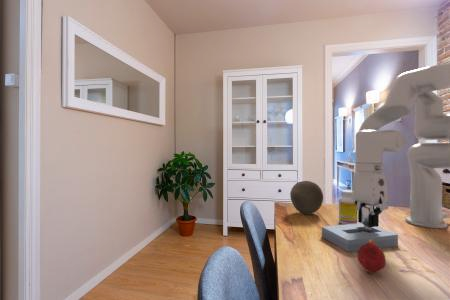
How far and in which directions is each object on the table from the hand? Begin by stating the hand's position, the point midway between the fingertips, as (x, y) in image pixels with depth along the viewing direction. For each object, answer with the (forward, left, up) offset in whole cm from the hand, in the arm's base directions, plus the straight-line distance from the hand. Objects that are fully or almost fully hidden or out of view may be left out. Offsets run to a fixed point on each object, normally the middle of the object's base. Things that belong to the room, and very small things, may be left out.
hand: (368, 223), depth 77 cm
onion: (+16, +17, -6) cm, 24 cm away
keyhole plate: (+4, 0, -5) cm, 7 cm away
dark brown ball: (+3, -31, -6) cm, 32 cm away
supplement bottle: (-6, -16, -6) cm, 18 cm away
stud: (0, 0, -4) cm, 4 cm away
